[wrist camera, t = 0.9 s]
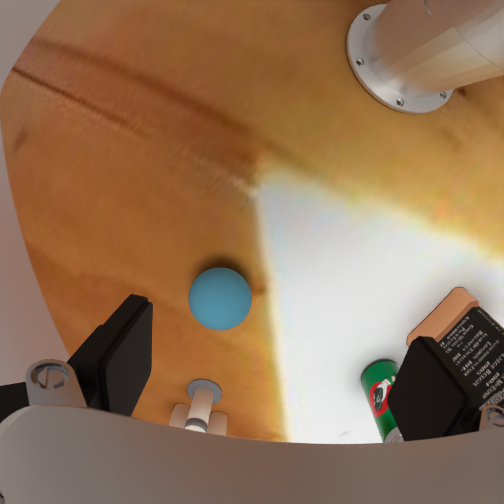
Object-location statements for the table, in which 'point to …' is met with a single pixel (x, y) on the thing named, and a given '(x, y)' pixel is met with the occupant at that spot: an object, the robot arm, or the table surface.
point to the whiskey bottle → (469, 342)
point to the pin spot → (207, 383)
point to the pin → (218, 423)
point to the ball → (220, 298)
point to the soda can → (382, 398)
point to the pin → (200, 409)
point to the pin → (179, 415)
